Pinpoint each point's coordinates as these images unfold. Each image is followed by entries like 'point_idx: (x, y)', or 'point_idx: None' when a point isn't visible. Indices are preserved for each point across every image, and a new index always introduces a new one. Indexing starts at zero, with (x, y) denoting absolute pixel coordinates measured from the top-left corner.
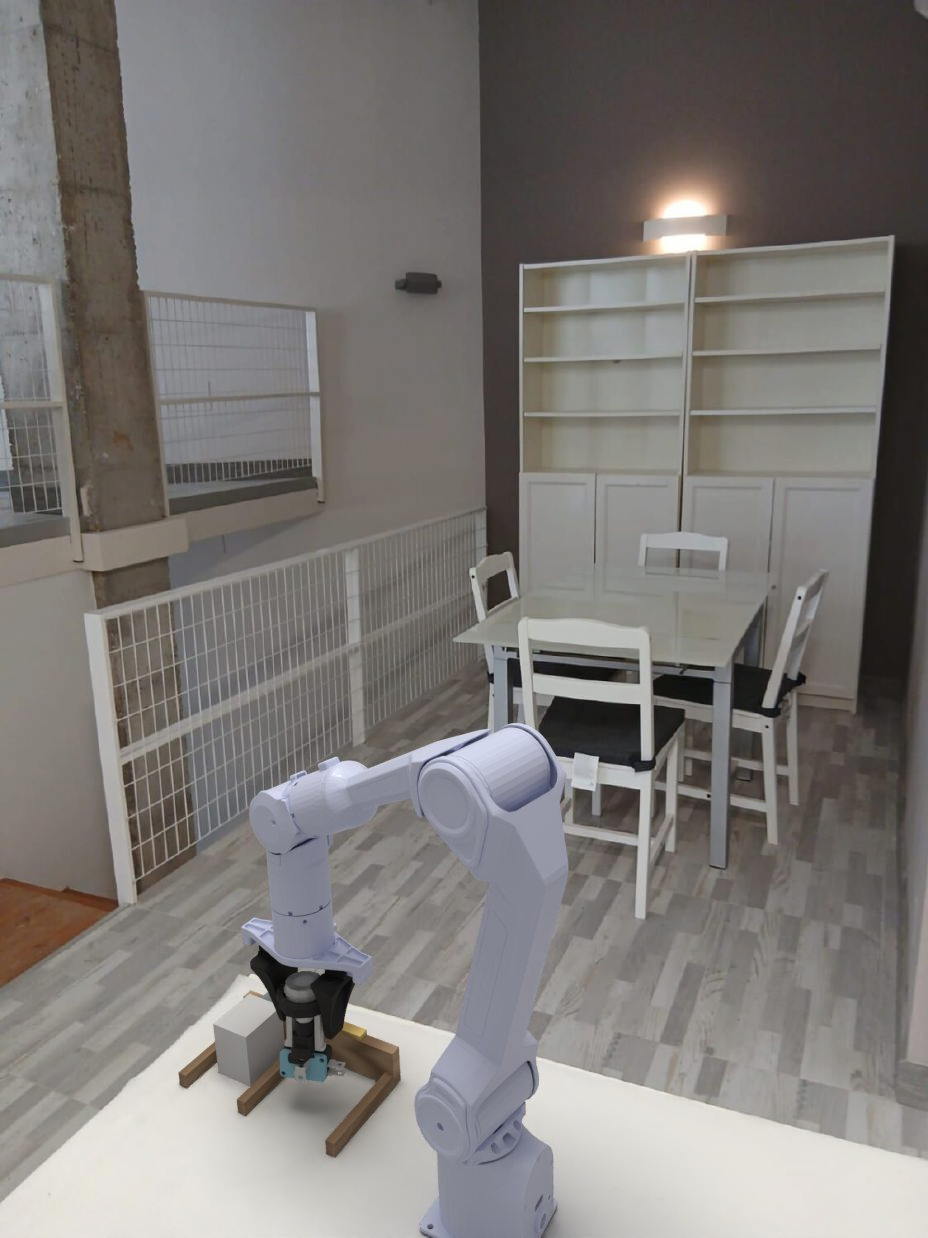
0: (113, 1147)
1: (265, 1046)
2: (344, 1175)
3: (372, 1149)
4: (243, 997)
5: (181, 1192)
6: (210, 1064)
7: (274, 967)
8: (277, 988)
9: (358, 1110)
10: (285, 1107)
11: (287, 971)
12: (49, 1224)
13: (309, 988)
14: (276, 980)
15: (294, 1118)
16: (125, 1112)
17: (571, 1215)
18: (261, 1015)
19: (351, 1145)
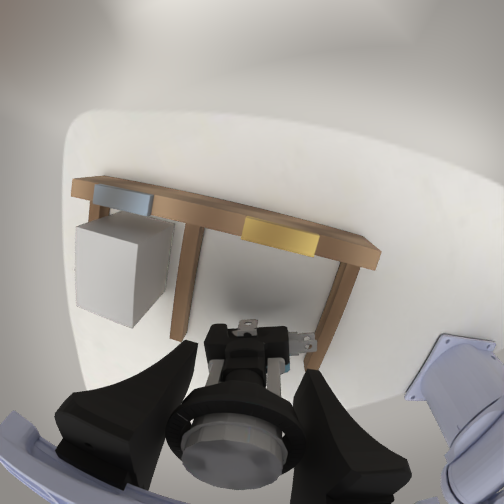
0: (104, 371)
1: (153, 274)
2: (330, 374)
3: (352, 343)
4: (71, 195)
5: None
6: None
7: (146, 483)
8: (164, 437)
9: (331, 327)
10: (225, 313)
11: (157, 430)
12: None
13: (260, 483)
14: (157, 452)
15: None
16: (82, 337)
17: (498, 343)
18: (121, 275)
19: None
